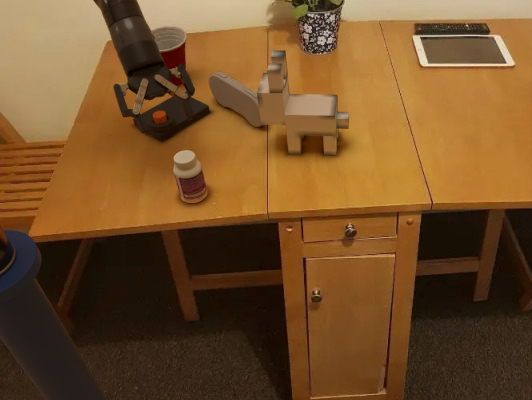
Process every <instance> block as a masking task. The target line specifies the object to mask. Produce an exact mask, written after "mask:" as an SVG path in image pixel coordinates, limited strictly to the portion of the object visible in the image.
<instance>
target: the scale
mask: <svg viewBox="0 0 532 400" xmlns="http://www.w3.org/2000/svg"><path fill="white" fill-rule="evenodd" d="M189 101H190V103H191V106H192V108H193V111H194V115H193V116H192V117H193V118H192V120H190V121H188V119H187V117H186V115H185V112H184V110H183V107H182V105H181V101H180V100H178V99H177V98H175V97H172V96H170V97H169V98H167V99H166V100H163V101H162V102H160V103H158V104H156V105H155V106H153V107H151V108H149V109H148V110H146V111H143V112H142V113H141V114H142V115H143V117H144V120H145V122H146V125H147V127H148V129H149V132H150V133H149V135H150V136H152V137H153V138H155V139H157V140H159V141H160V142H165V141H166V140H168V139H169V138H171V137H172V136H174V135H176V134H178V133H179V132H181V131H182V130H184V129H186V128H188V127H189V126H191V125H192V124H194V123H195V122H197V121H199V120H200V119H202V118H204V117H205V116H207V115H208V114H210V113H211V111H210V106H209V104H206V103H204V102H202V101H200V100H198V99H196V98H195V97H193V96H191V97H190V98H189ZM157 111H164V112H165V113H166V116H167V121H166V122H165V123H162V124H156V123H155V122H154V119H153V113H155V112H157ZM132 120H133V124H134V127H136V128H138V126H137V123H136V121H135V119H134V118H133V117H132Z"/></svg>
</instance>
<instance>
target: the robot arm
mask: <svg viewBox="0 0 532 400" xmlns="http://www.w3.org/2000/svg"><path fill="white" fill-rule="evenodd" d="M92 1H93V2H94V4H95V5H96V6H97V8H98V9H99V10H100V12H101V15H102V17H103V20H104V23H105V25H106V28H107V30H108V32H109V35H110V39H111V42H112V46H113V48H114V49H115V52H116V55H117V58H118V60H119V62H120V65H121V67H122V69H123V72H124V74H125V77H126V79H127V80H126V81H127V82H125V83H120V84H119V83H115V84H113V93H114V96H115V99H116V102H117V106H118V108H119V110H120V113H121V116H122V118H124V119H125V118H132V119H133V118H134V119H135V121H136V123H137V126H138V127H137V126H136V127H137V128H138V130H139V133H141V134H144V135H145V136H148V135H150V134H149V133H150V132H149V129H148V127H147V125H146V122H145V120H144V117H143V115H142V113H141V111H142V107H143V104H144V102H145V101H152V100H154V99H156V98H162V97H165V96H166V94H167V95H169V96H170V97H175V98H177V99H178V100H180V101H181V105H182V107H183V110H184V112H185V115H186V117H187V119H188V121H190V120H192V118H193V117H192V116H193V115H194V111H193V108H192V106H191V103H190V101H189V98H190V97H193V96H194V95H195V92H196V88H195V85H194V83H193V81H192V80H191V77H190V76H189V74H188V71H187V68H186V69H185V67H184V65H182V64H179V65H178V67H176V68H174V69H171V70H169V69H168V68H167V67H166V65H165V63H164V60H163V58H162V56H161V53H160V51H159V48H158V46H157V44H156V41H155V37H154V35H153V34H152V32H151V30H152V29H151V28H150V26H149V24H148V22H147V20H146V19H145V16H144V14H143V10H142V9H141V6H140V4H139V1H138V0H92ZM172 75H173V76H175V77H176V78H177V79H181V81H182V86H183V88H184V89H185V91H184V90H182V89H180V88H179V87H178V85H176V86H175V85H174V84H172V83H171V82H170V81H171V77H172ZM128 90H129V91H130V92H132V93H133V94H135V95H136V98H135V101H134V105H133V108H129V107H128V105H127V102H126V98H125V97H126V95H127V91H128ZM16 258H17V252H16V250H15V248H14V246H13V245H12V244H11V242H10V241H9V239H8V238H7V236H6V234H5V233H4V229H3V228H2V226H1V225H0V277H1V276H3V275H4V274H5V273H7V272H8V271H9V270H10V269H11V268H12V266H13V265H14V263H15V261H16Z"/></svg>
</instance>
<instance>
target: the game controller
mask: <svg viewBox="0 0 532 400" xmlns="http://www.w3.org/2000/svg"><path fill="white" fill-rule="evenodd" d="M208 86H209V89H210V92H211V94H212V96H213V98H214V99H215V100H216V102H217V103H218V104H219V105H221V106H222V107H223V108H230V109H231V110H232V111H234V112H236V113H238V114H239V115H241V116H242V117H244V118H245V120H246V121H247V122H248V123H249V124H250V125H251V126H253V127H255V128H259V127H262V126H263V125H261V119H260V112H259V104H258V97H257V91H254V90H253V89H251V88H249V87H248V86H246V85H245V84H243V83H242V82H240V81H238V80H236V79H234V78H233V77H231V76H229V75H228V74H226V73H224V72H221V71H215V72H214V73H213V74H211V75H210V76H209V78H208Z"/></svg>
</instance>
